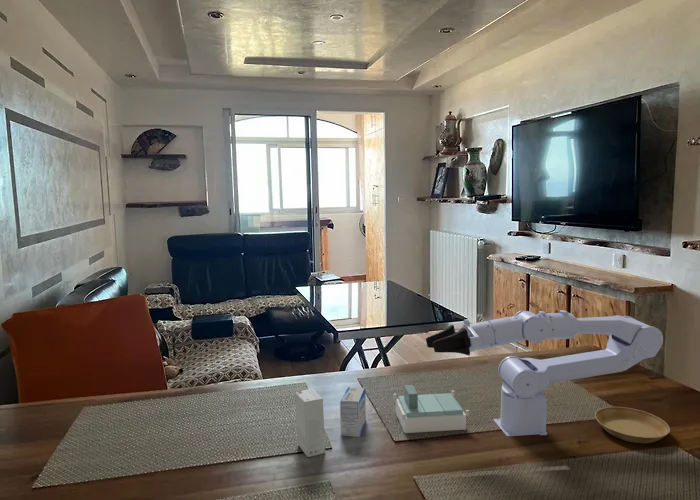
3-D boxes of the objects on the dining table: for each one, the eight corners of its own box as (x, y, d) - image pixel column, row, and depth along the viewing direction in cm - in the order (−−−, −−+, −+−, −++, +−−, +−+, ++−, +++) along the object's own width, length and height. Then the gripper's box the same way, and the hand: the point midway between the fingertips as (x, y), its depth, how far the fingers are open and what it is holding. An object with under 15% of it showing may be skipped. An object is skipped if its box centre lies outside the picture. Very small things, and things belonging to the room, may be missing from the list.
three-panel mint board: (450, 397, 122) (451, 379, 121) (462, 414, 113) (463, 395, 112) (398, 399, 121) (398, 382, 120) (406, 417, 112) (406, 398, 111)
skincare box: (326, 453, 105) (325, 398, 103) (305, 458, 103) (304, 402, 101) (315, 439, 110) (314, 387, 109) (295, 444, 108) (294, 391, 107)
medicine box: (360, 439, 110) (359, 402, 109) (340, 437, 111) (339, 400, 110) (366, 422, 118) (365, 387, 117) (347, 420, 119) (347, 386, 118)
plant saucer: (592, 439, 110) (593, 427, 110) (595, 411, 123) (595, 401, 123) (672, 455, 103) (673, 443, 103) (666, 425, 116) (666, 414, 116)
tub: (453, 410, 124) (453, 390, 123) (468, 432, 113) (469, 410, 112) (393, 413, 122) (393, 393, 121) (402, 436, 111) (403, 414, 110)
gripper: (477, 313, 118) (420, 324, 117) (497, 318, 104) (433, 329, 103) (482, 343, 118) (426, 354, 117) (504, 351, 103) (440, 364, 103)
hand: (430, 344), depth 110 cm, fingers open, 7 cm apart
